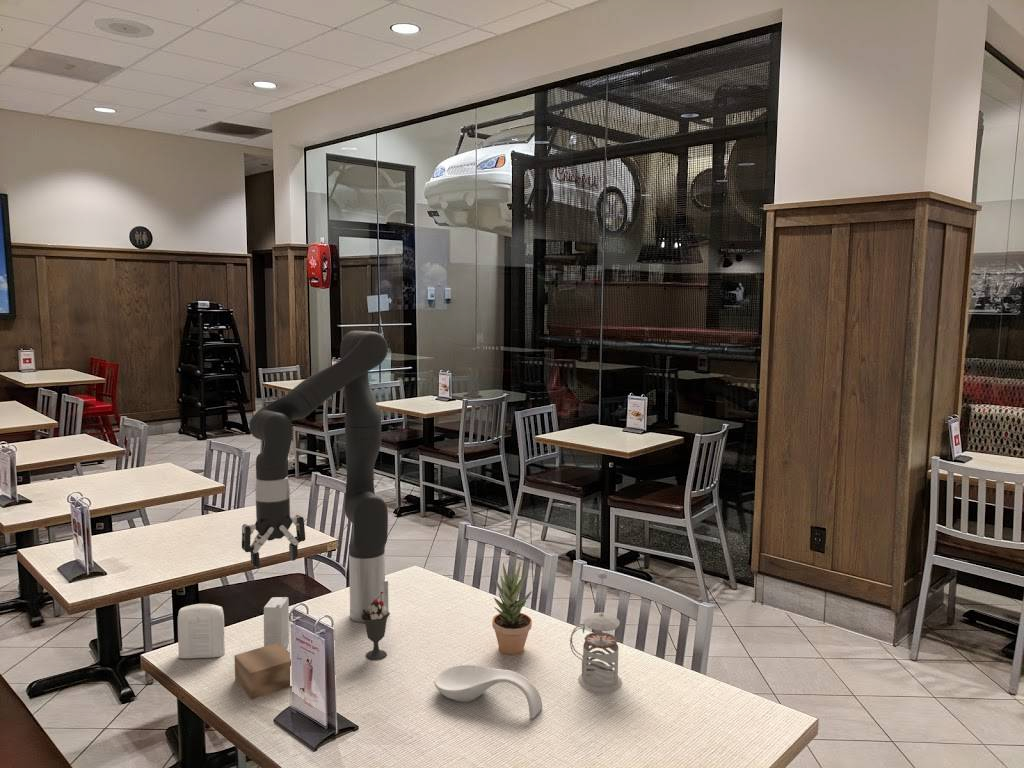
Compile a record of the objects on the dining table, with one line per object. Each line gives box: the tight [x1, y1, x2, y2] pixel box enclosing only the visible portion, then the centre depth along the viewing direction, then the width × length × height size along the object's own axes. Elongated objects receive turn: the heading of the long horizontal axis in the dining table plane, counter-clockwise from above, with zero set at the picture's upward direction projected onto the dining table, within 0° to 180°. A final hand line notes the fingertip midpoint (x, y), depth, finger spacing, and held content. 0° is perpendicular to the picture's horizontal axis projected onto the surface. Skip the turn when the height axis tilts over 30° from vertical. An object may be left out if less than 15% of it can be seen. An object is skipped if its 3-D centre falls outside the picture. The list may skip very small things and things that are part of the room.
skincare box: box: [263, 596, 290, 649], centre depth 175 cm, size 6×4×12 cm
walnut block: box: [233, 642, 291, 700], centre depth 160 cm, size 10×10×6 cm
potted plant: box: [491, 549, 533, 655], centre depth 176 cm, size 10×10×25 cm
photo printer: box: [177, 603, 226, 659], centre depth 172 cm, size 10×4×12 cm, turn 98°
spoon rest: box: [433, 664, 543, 719], centre depth 154 cm, size 24×12×7 cm, turn 65°
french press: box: [569, 571, 623, 694], centre depth 161 cm, size 10×12×25 cm
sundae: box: [361, 592, 391, 661], centre depth 172 cm, size 7×7×15 cm
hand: (274, 563), depth 173 cm, fingers open, 8 cm apart
